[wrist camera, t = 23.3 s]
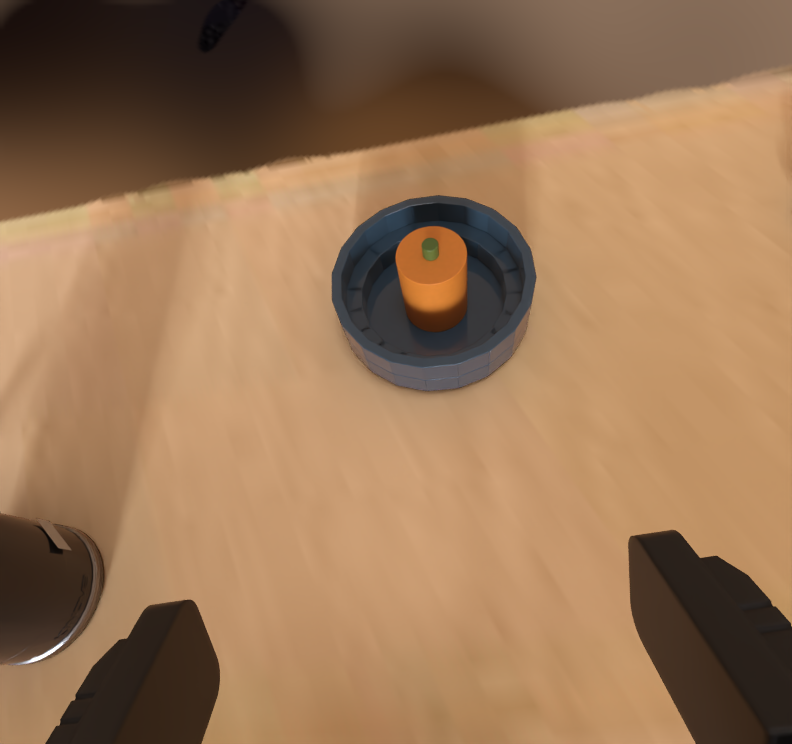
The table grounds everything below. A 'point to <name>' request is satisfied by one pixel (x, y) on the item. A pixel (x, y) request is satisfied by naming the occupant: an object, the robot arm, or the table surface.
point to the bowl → (384, 305)
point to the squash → (433, 277)
